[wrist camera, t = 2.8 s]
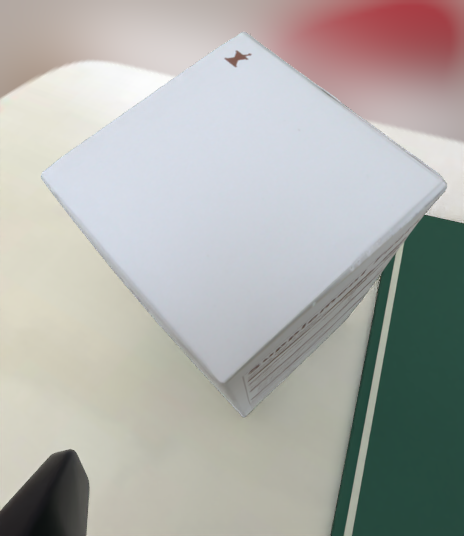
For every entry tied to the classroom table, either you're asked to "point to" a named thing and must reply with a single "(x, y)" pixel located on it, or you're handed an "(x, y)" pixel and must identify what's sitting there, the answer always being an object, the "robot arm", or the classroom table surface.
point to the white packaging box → (244, 212)
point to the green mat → (411, 397)
